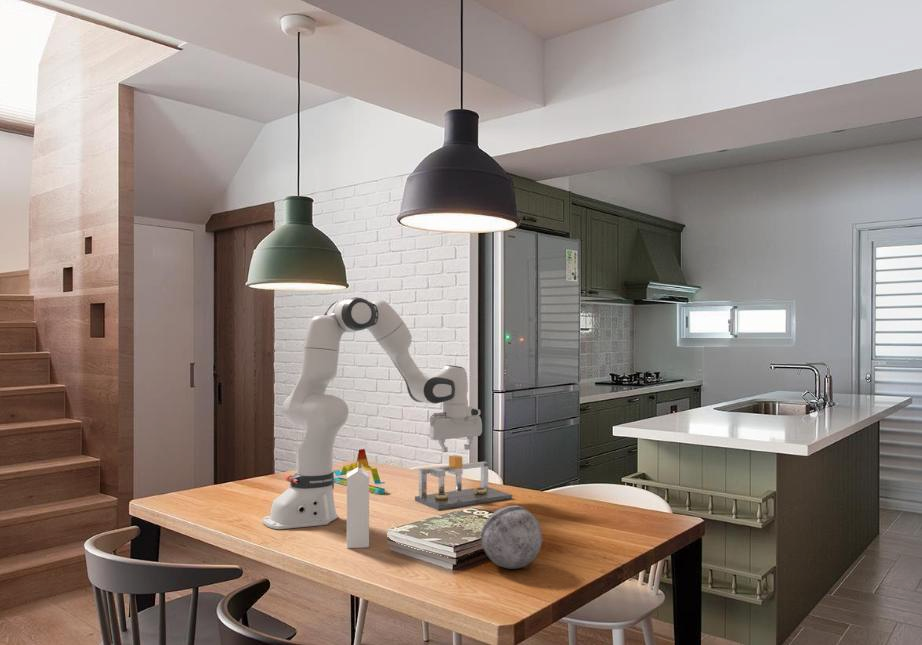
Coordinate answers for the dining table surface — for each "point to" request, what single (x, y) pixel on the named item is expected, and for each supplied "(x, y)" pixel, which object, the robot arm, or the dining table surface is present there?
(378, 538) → the dining table surface
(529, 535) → the decorative orb
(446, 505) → the plate
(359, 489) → the milk
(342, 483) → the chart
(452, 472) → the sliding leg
